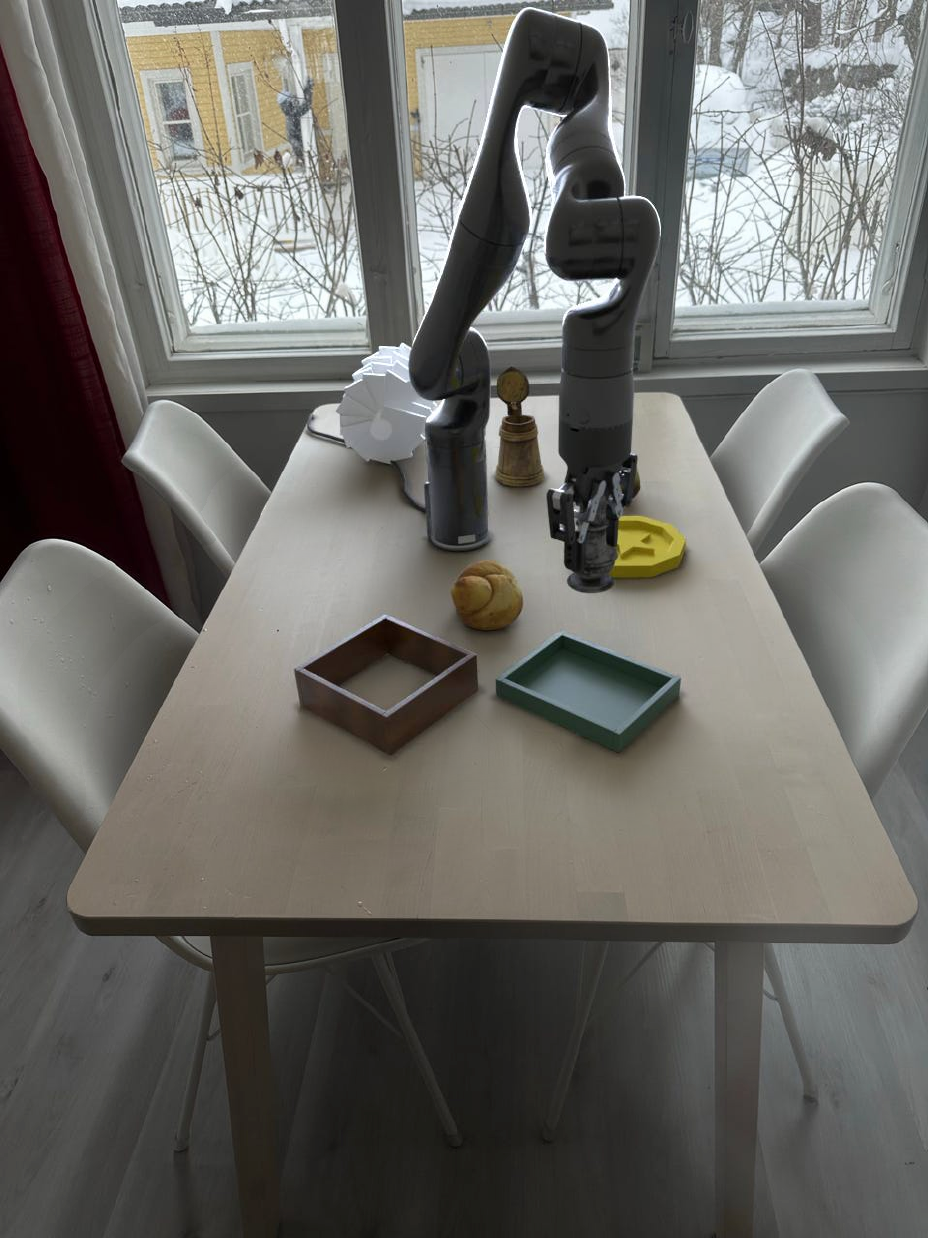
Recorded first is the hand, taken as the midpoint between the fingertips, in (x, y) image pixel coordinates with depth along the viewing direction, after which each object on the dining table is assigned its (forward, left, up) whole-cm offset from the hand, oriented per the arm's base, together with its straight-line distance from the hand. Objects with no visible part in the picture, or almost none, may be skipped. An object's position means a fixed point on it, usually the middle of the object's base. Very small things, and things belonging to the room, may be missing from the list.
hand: (591, 557), depth 103 cm
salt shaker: (0, 0, -3) cm, 3 cm away
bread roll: (-22, +8, -19) cm, 30 cm away
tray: (0, 0, -19) cm, 19 cm away
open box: (-19, -15, -19) cm, 31 cm away
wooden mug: (-49, +50, -19) cm, 72 cm away
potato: (-30, +53, -19) cm, 64 cm away
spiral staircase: (-78, +46, -19) cm, 93 cm away
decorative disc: (-16, +35, -19) cm, 43 cm away
